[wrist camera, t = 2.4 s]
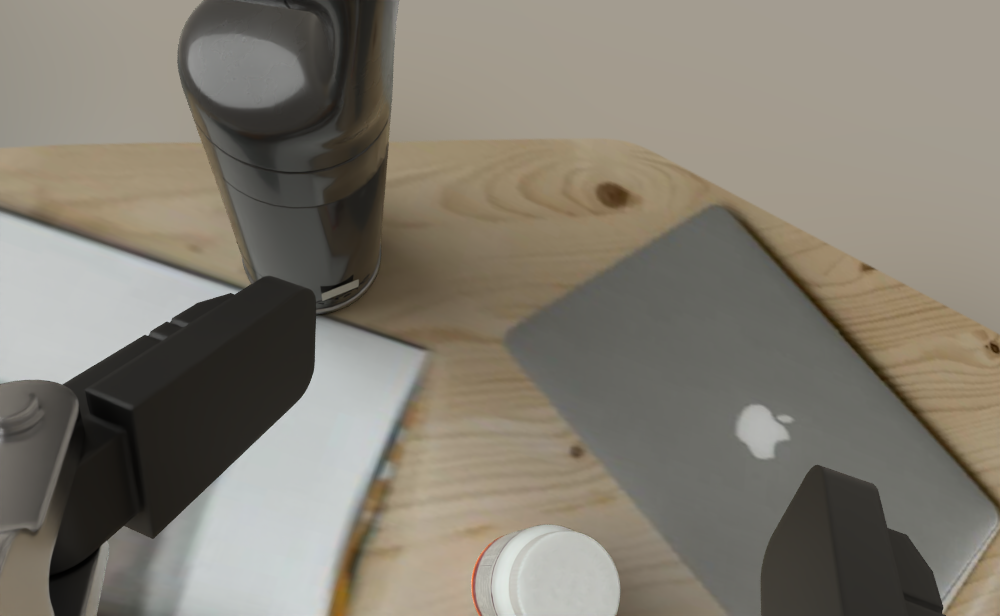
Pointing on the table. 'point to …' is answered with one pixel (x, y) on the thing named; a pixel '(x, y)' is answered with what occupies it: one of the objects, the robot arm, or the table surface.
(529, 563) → the pill bottle
